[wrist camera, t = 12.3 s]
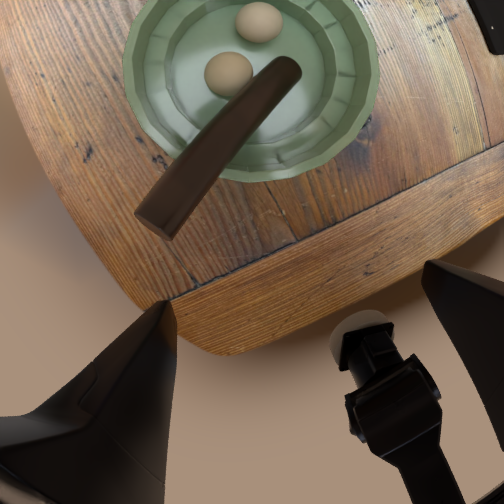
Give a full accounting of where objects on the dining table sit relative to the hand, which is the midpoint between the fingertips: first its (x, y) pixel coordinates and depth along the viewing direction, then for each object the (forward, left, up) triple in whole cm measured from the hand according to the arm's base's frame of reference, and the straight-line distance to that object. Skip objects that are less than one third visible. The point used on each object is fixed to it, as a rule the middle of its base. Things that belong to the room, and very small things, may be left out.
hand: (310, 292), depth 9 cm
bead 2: (+12, -1, -11) cm, 16 cm away
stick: (+9, -2, -12) cm, 15 cm away
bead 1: (+8, +1, -11) cm, 14 cm away
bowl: (+9, 0, -13) cm, 16 cm away
